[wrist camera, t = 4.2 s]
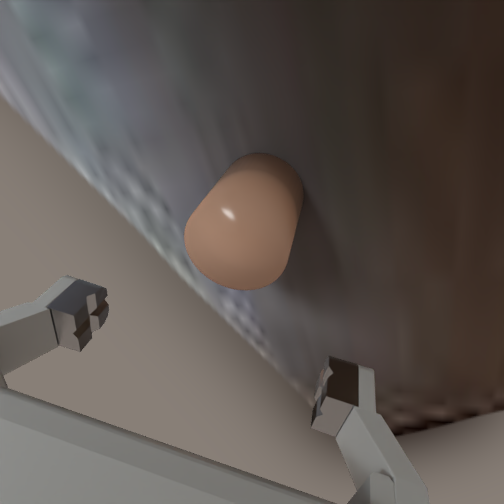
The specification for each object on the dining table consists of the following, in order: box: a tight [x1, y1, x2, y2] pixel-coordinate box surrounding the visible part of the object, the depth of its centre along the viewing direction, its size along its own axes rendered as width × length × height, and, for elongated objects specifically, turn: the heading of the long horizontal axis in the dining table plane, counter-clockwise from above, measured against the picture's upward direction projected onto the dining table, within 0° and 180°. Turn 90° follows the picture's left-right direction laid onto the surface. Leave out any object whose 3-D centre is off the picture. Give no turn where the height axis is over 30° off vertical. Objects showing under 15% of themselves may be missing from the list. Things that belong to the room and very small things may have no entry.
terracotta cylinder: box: [184, 153, 304, 290], centre depth 19 cm, size 5×5×6 cm
